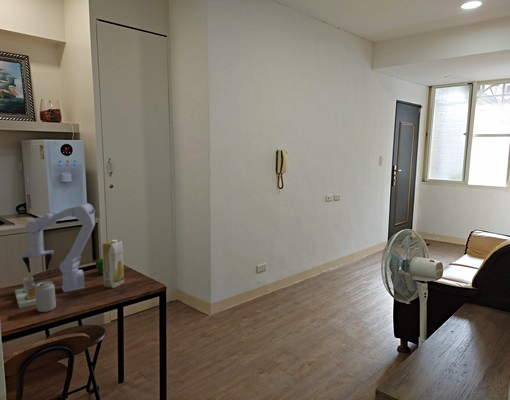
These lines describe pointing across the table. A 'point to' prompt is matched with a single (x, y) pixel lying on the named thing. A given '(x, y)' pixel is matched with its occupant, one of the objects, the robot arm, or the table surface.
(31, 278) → the small drink carton
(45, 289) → the can
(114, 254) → the juice carton
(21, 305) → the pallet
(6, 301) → the table surface
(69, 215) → the robot arm
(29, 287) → the glass of amber drink
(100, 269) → the bell pepper
